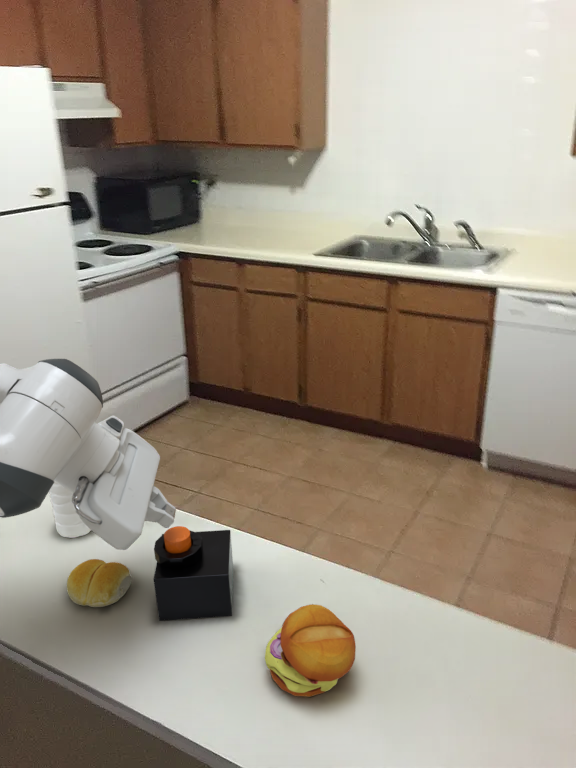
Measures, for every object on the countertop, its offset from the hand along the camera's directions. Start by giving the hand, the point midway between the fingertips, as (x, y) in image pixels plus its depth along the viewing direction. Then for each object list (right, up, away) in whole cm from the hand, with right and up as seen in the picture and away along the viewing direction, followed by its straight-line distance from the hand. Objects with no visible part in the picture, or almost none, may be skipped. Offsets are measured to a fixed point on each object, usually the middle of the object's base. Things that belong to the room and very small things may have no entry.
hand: (172, 519), depth 90 cm
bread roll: (-12, -12, +8) cm, 18 cm away
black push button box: (+3, -12, +6) cm, 14 cm away
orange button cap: (0, -4, +2) cm, 5 cm away
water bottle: (-19, -6, +22) cm, 30 cm away
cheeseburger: (+19, -18, -7) cm, 27 cm away
